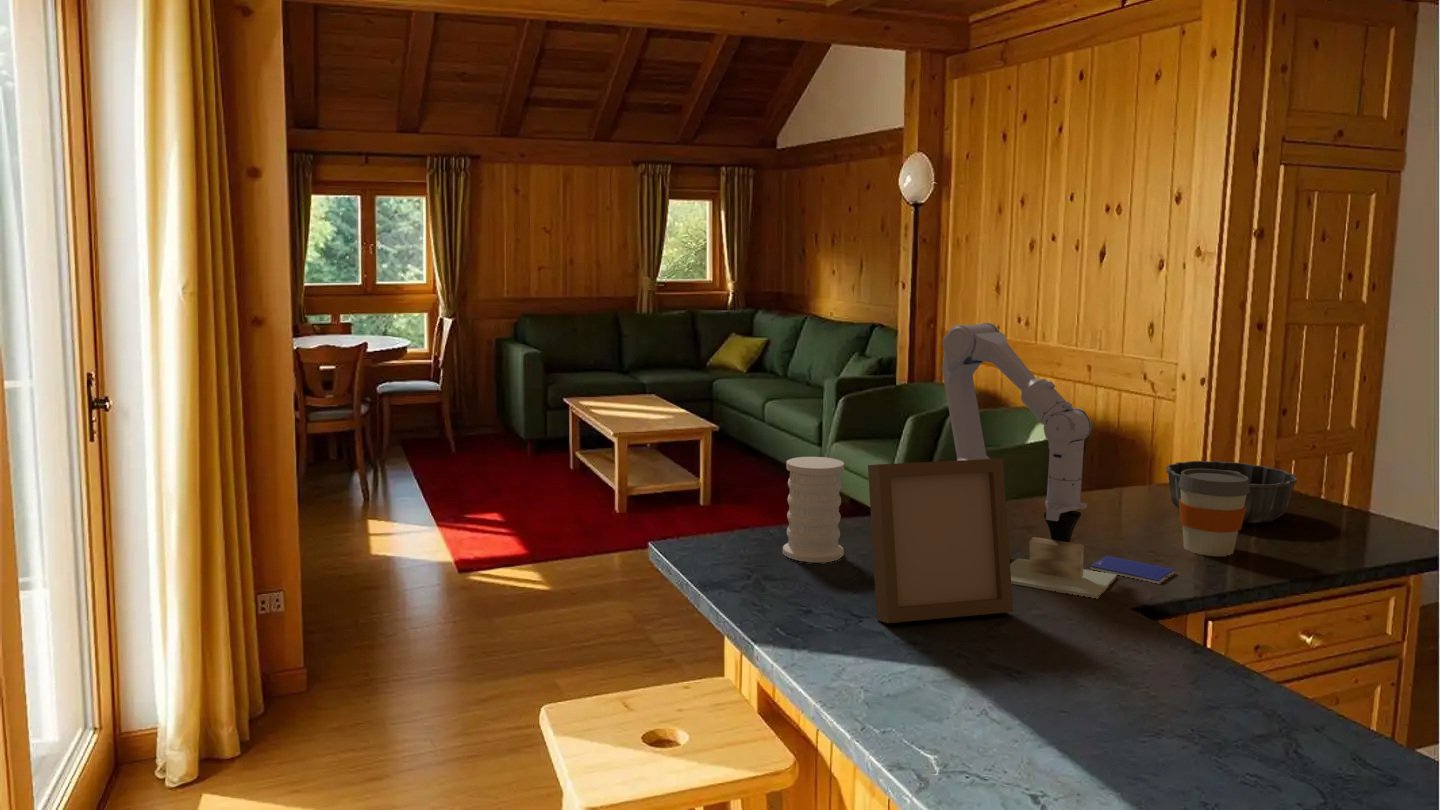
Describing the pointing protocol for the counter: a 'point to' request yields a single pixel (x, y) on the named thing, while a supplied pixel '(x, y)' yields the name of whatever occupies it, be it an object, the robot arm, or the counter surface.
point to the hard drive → (1132, 569)
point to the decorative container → (814, 509)
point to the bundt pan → (1265, 487)
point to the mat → (1061, 580)
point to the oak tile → (1056, 558)
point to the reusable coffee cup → (1212, 510)
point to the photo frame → (940, 539)
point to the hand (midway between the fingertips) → (1060, 551)
